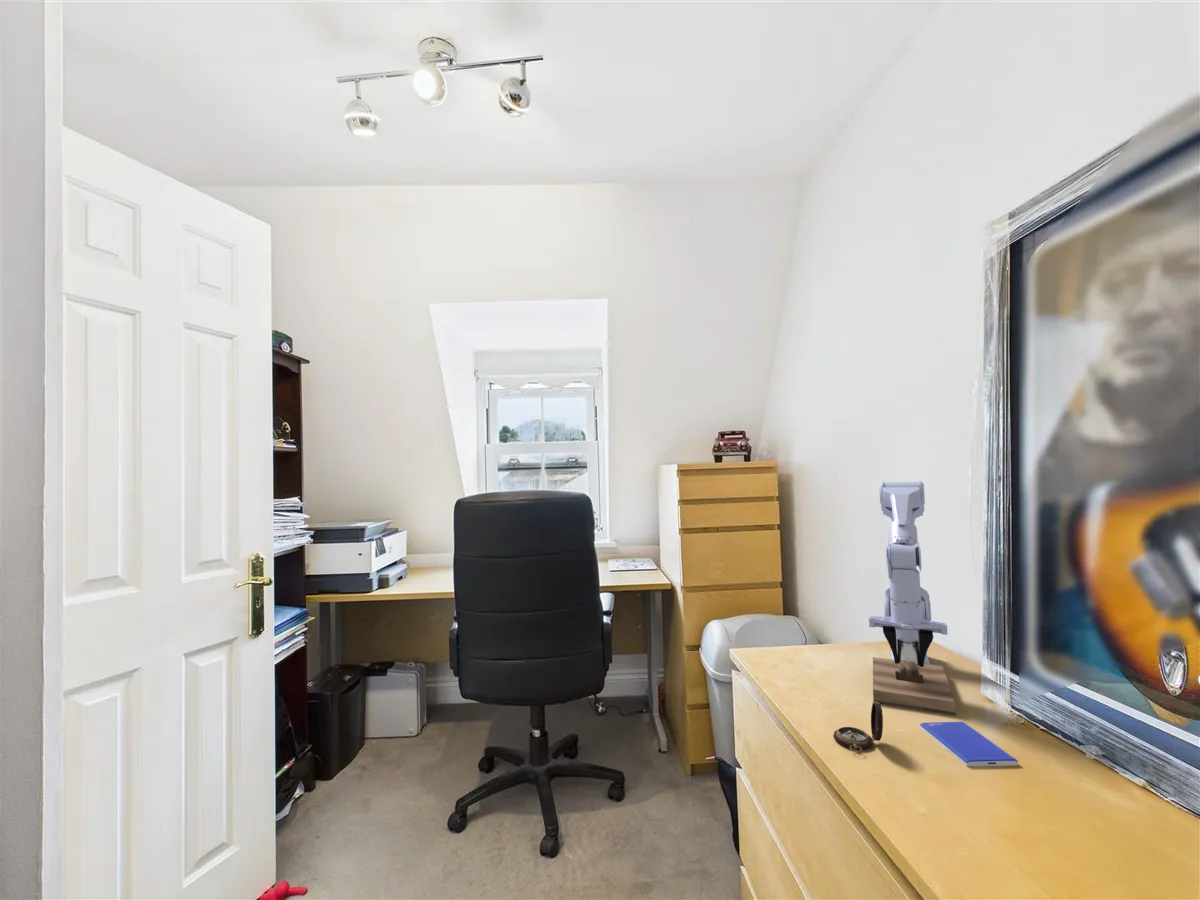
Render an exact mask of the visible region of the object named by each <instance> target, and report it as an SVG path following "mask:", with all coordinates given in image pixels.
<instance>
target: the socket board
mask: <svg viewBox="0 0 1200 900" xmlns="http://www.w3.org/2000/svg"><path fill="white" fill-rule="evenodd" d="M947 677H948V676H947V673H946V672H945V668H944V667H943V665H939V664H932V663H930V664H924V667H920V676H919V677H907V676H904V675H901V674H900V673H899V668H898V664H895V661H894V660H892V659H890V658H882V657H875V656H873V657H872V694H873V702H879V703H880V704H883V705H888V706H889V705H890V706H895V707H896V706H897V707H901V708H902V707H903V708H908V709H909V708H910V709H914V708H916V709H915V710H920V709H922V711H926V710H927V712H933V713H938V714H947V715H951V714H952V716H956V715H957V713H956V712H957V711H956V701H955V698H954V695H953V692H952V688H951V686H950V684H949V680H948V678H947Z"/></svg>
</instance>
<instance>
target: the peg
mask: <svg viewBox="0 0 1200 900" xmlns="http://www.w3.org/2000/svg"><path fill="white" fill-rule="evenodd" d="M897 648H898V663H899V664H898V668H899V673H900V674H901V675H904V676H907V677H919V676H920V662H919V642H918V641H917V640H915V639H911V638H898V639H897Z"/></svg>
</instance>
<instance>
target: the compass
mask: <svg viewBox="0 0 1200 900" xmlns="http://www.w3.org/2000/svg"><path fill="white" fill-rule="evenodd" d="M870 710H871V711H870V729H871V736H870V735H869V734H868V733H866V731H864V730H862V729H860V728H857V727H854V726H842V727H840V728H838V729H836V730H835V731H833V735H832V736H833V739H834V740H835V741H836V742H837V743H838V744H839V745H840V746H842V747H844V748H848V749H850V750H851V751H854V752H858V753H859V752H862V751H864V750H868V749H871V747H872V746H873V744H874V743H873V742H875V741H877V742H880V741H881V739H882V736H883V727H884V726H883V725H884V716H883V709H882V705H881V703H879V702H874V701H872V705H871V709H870Z"/></svg>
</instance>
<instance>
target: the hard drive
mask: <svg viewBox="0 0 1200 900" xmlns="http://www.w3.org/2000/svg"><path fill="white" fill-rule="evenodd" d="M920 728H921V729H920ZM919 729H920V730H922V731H923V730H924V731H925V732H926V733H925V732H924V731H923V732H924V733H925V734H927V735H928V736H929V738H931V739H933V740H934V741H935V742H936V743H937V744H939V745H940V746H941V747H943V749H944V750H946V751H947V752H948V753H950V754H951V755H952V756H953V757H954V758H955V759H957V760H959V762H961V763H962V764H963V765H964V766H965V765H966V766H965V767H967V766H968V767H969V766H973V767H1005V766H1007V767H1009V766H1011V767H1012V766H1013V765H1014V766H1019V765H1018V764H1019V763H1018V762H1019V761H1018V760H1017V759H1016V758H1015V757H1013V756H1012V755H1011V754H1009V753H1008V752H1007V751H1005V750H1004V749H1002V748H1000V747H999V746H998V745H997V744H995V743H993V741H991V740H989V739H988V738H986V737H985V736H984V735H982V734H981V733H979V732H978V731H977V730H976V729H974V728H973V727H972V726H970V725H968V724H967V723H965V722H964V721H941V722H940V721H939V722H937V721H935V722H934V721H933V722H921V723H920V724H919ZM968 767H967V768H968Z"/></svg>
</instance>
